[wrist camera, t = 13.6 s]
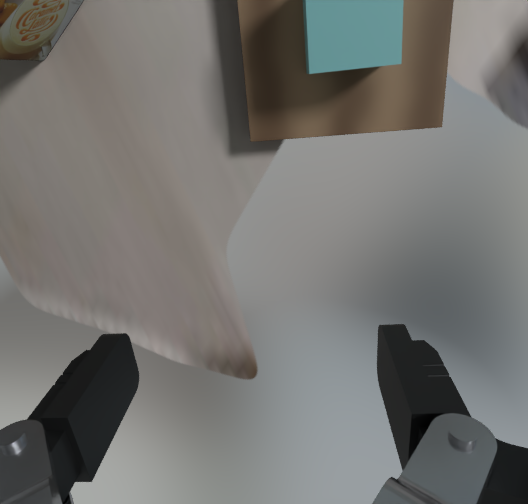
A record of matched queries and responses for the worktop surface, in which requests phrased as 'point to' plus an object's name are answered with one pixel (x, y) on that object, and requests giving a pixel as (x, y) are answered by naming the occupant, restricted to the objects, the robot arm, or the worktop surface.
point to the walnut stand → (341, 76)
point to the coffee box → (33, 26)
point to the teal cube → (352, 34)
